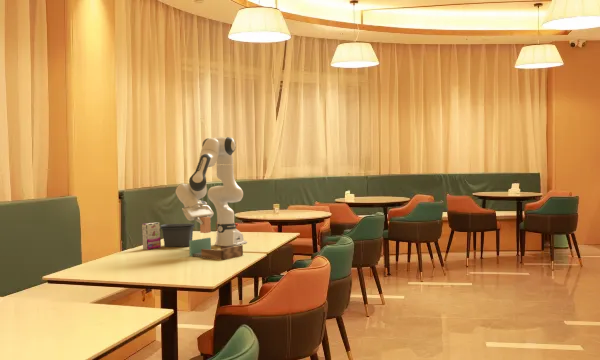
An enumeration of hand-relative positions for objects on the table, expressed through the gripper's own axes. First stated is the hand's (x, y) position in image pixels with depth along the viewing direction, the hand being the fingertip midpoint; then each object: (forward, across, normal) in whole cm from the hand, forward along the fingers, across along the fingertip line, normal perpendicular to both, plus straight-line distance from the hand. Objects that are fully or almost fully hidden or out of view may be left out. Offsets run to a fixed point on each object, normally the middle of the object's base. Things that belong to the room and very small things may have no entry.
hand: (206, 223), depth 382 cm
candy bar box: (-24, +6, +51) cm, 57 cm away
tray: (+14, +1, +12) cm, 19 cm away
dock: (+21, +1, +6) cm, 22 cm away
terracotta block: (+3, 0, +4) cm, 5 cm away
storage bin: (-20, +24, +47) cm, 56 cm away
